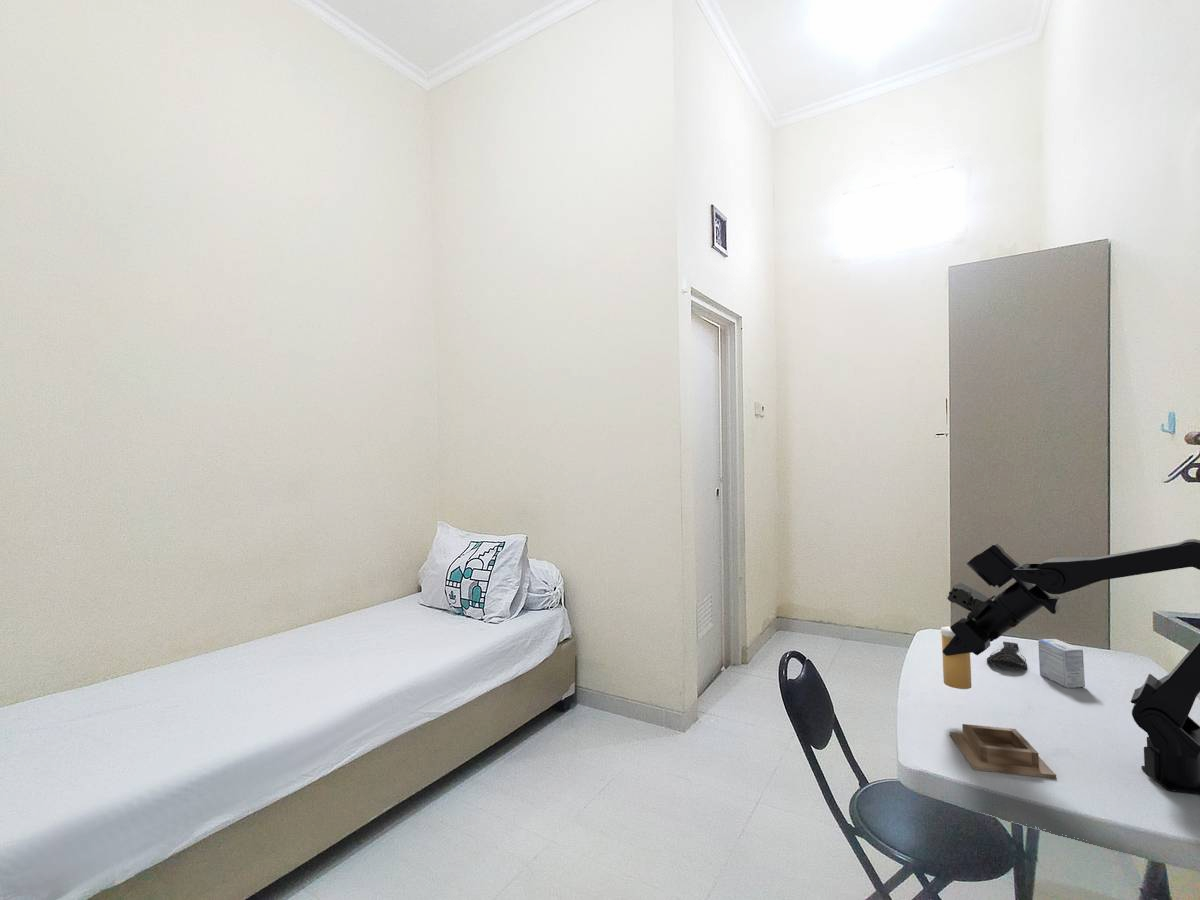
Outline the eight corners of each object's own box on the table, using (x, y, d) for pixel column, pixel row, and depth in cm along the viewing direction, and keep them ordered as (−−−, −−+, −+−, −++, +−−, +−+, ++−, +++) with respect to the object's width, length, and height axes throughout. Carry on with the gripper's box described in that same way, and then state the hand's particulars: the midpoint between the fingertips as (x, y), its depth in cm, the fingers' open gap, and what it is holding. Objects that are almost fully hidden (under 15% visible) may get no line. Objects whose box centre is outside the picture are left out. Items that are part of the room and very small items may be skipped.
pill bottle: (966, 680, 115) (964, 627, 115) (976, 690, 110) (973, 634, 110) (939, 678, 116) (937, 626, 116) (947, 688, 111) (945, 633, 112)
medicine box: (1085, 688, 125) (1084, 649, 125) (1065, 688, 125) (1064, 650, 126) (1057, 674, 133) (1056, 638, 133) (1039, 674, 133) (1037, 638, 133)
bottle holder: (1022, 742, 103) (1021, 725, 103) (1056, 778, 92) (1055, 759, 92) (949, 735, 106) (949, 718, 107) (973, 769, 95) (972, 751, 95)
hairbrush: (1029, 637, 152) (1025, 660, 133) (1030, 651, 152) (1026, 676, 133) (992, 632, 157) (983, 653, 138) (993, 645, 157) (984, 668, 138)
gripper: (988, 565, 117) (932, 608, 125) (960, 580, 104) (900, 627, 112) (1037, 609, 111) (974, 652, 119) (1013, 631, 98) (945, 676, 106)
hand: (948, 650), depth 114 cm, fingers closed on pill bottle, 5 cm apart
